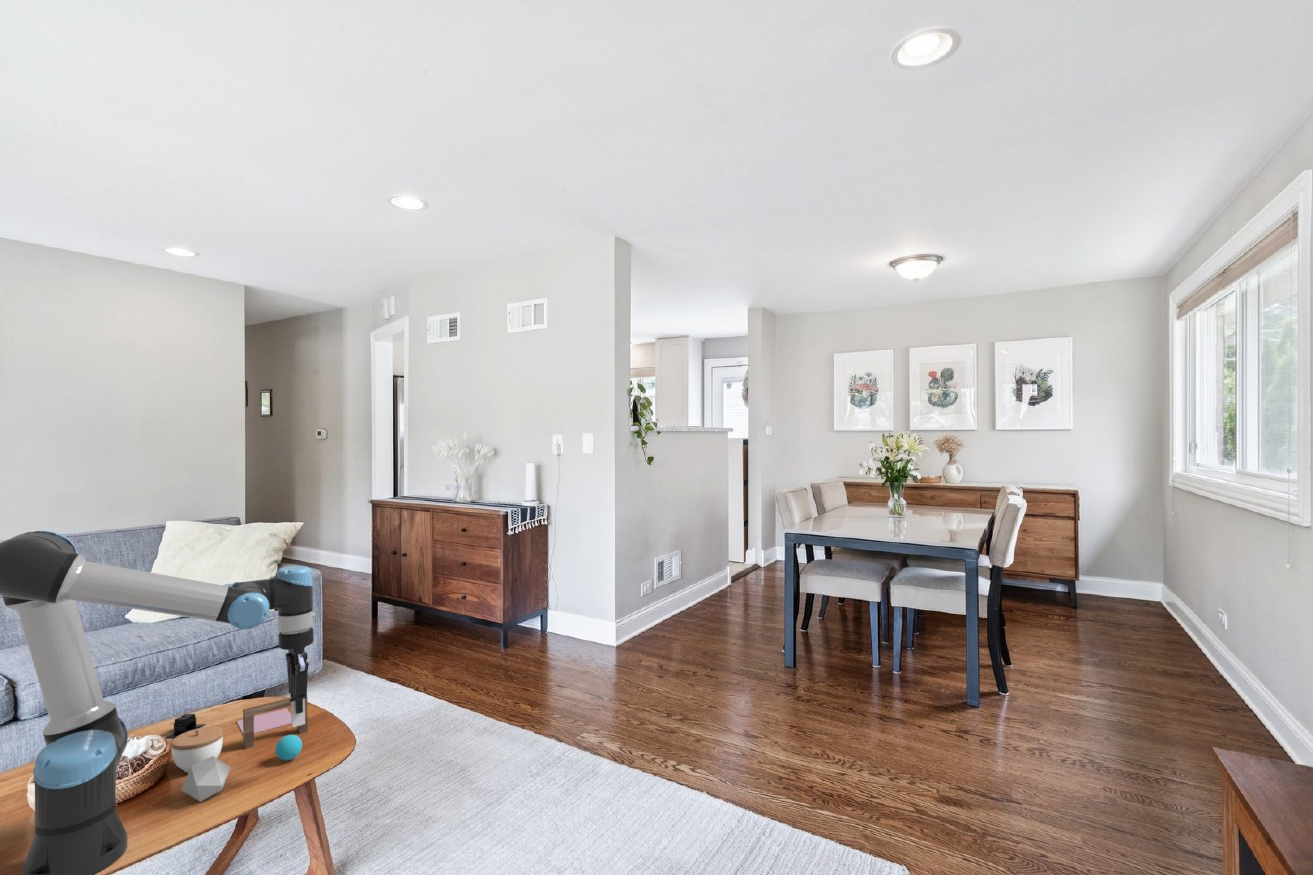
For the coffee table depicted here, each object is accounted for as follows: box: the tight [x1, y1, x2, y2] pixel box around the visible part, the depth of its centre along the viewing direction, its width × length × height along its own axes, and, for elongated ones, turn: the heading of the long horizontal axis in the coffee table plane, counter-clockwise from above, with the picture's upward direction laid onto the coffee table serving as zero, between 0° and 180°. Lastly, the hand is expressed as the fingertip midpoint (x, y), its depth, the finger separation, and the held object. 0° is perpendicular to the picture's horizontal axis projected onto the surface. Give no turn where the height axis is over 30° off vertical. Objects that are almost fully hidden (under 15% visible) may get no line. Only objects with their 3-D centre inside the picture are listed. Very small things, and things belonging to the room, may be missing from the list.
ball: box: [274, 734, 303, 761], centre depth 163 cm, size 6×6×6 cm
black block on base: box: [164, 713, 207, 740], centre depth 180 cm, size 13×8×5 cm, turn 177°
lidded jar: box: [171, 726, 224, 773], centre depth 160 cm, size 11×11×9 cm
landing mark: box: [236, 707, 292, 735], centre depth 185 cm, size 13×13×1 cm
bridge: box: [242, 697, 309, 750], centre depth 175 cm, size 3×15×10 cm, turn 131°
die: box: [181, 756, 232, 803], centre depth 146 cm, size 8×9×10 cm
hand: (298, 724), depth 156 cm, fingers closed
